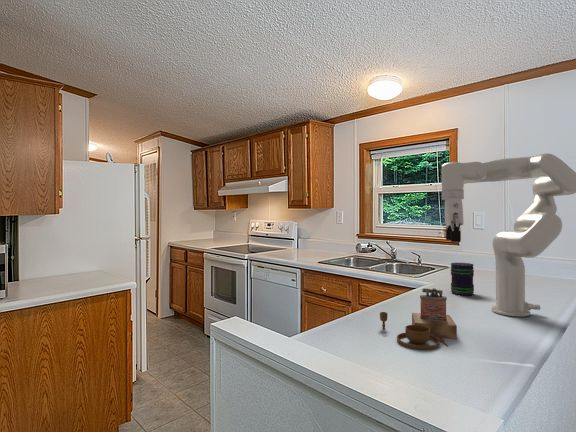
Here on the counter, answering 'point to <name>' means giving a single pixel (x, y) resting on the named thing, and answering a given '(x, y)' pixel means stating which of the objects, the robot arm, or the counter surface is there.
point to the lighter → (433, 305)
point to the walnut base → (437, 326)
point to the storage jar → (462, 279)
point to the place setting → (415, 335)
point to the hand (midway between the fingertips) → (453, 240)
